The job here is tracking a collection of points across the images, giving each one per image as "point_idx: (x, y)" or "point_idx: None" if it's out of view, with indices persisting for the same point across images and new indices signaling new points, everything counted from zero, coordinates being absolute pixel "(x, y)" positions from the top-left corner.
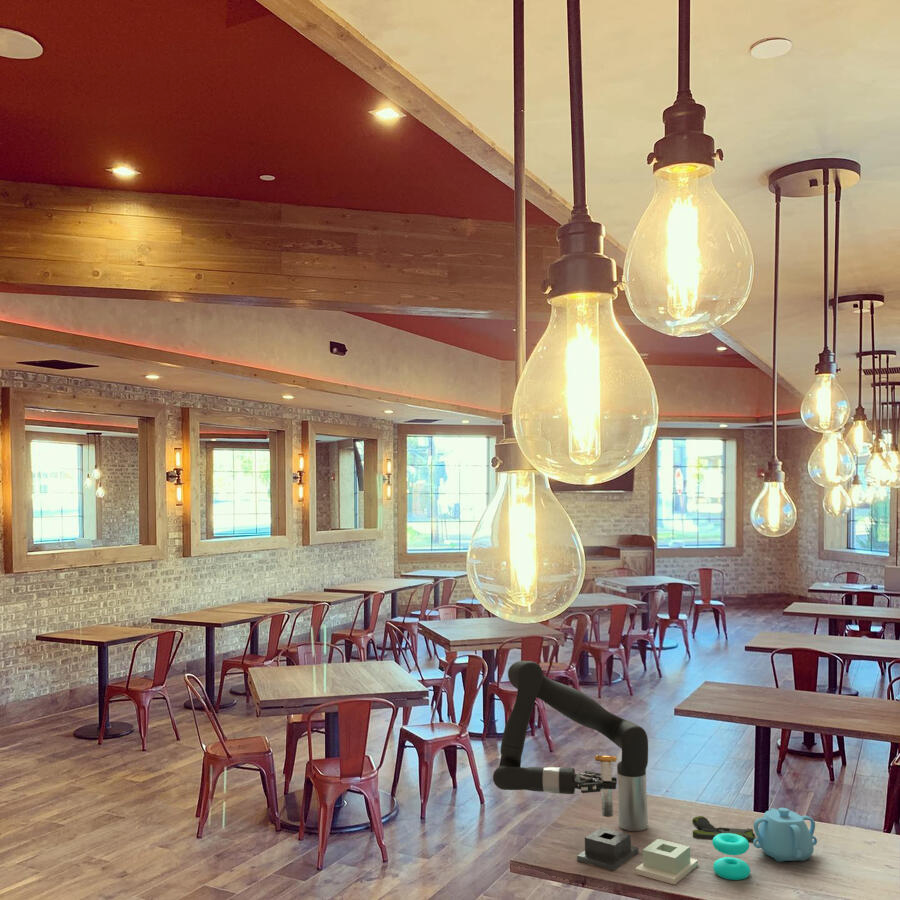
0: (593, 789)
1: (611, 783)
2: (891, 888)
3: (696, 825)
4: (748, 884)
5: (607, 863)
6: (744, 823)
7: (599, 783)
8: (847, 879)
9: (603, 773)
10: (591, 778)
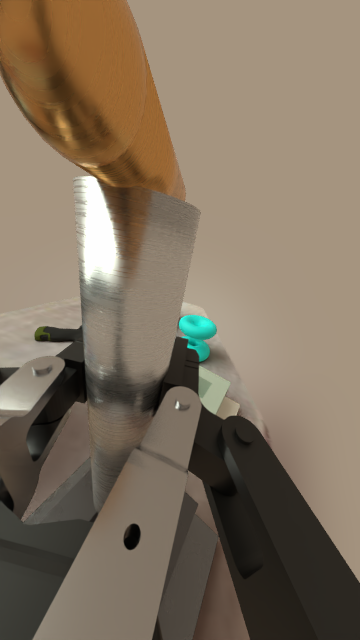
0: (237, 543)
1: (191, 356)
2: (197, 306)
3: (53, 339)
4: (211, 349)
5: (208, 561)
6: (71, 313)
7: (252, 425)
8: (189, 311)
9: (171, 329)
10: (147, 523)
